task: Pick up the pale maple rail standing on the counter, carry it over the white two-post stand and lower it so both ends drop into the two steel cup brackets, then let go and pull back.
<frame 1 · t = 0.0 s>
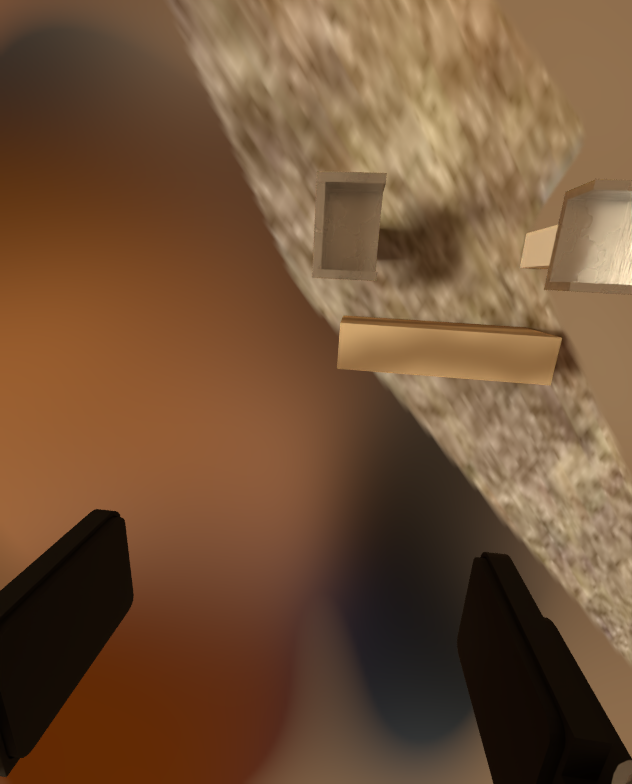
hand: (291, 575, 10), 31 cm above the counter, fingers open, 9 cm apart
bracket stand: (443, 247, 35), on the counter
rail: (429, 341, 38), on the counter
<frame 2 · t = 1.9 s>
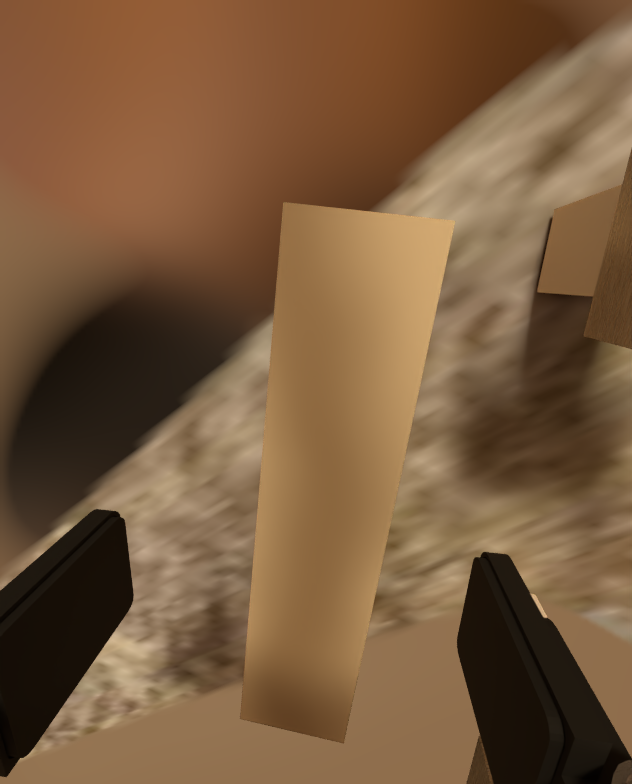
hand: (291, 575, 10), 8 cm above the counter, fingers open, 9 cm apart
bracket stand: (535, 461, 17), on the counter
rail: (337, 439, 18), on the counter
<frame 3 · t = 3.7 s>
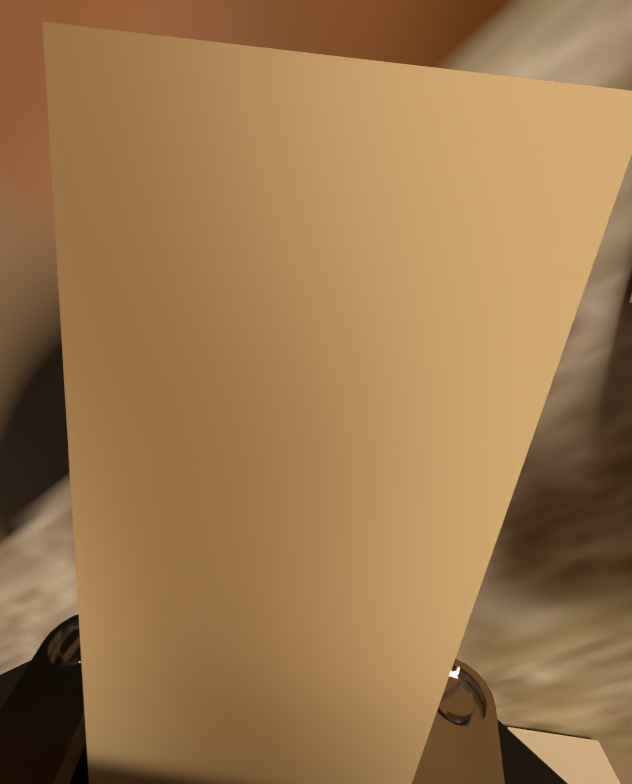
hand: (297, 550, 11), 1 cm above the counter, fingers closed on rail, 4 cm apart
bracket stand: (610, 561, 11), on the counter
rail: (301, 528, 12), on the counter, touching gripper
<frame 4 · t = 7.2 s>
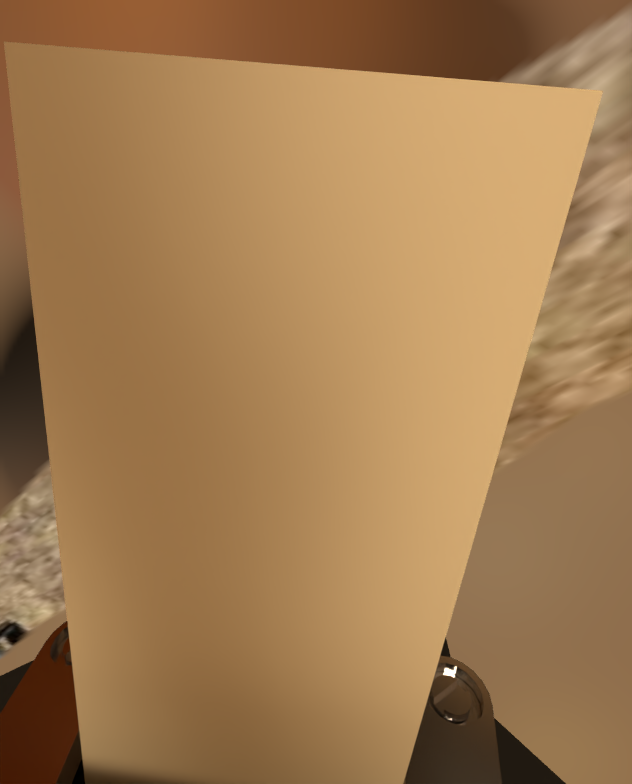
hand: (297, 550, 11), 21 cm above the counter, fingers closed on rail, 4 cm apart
rail: (300, 530, 12), point 20 cm above the counter, touching gripper
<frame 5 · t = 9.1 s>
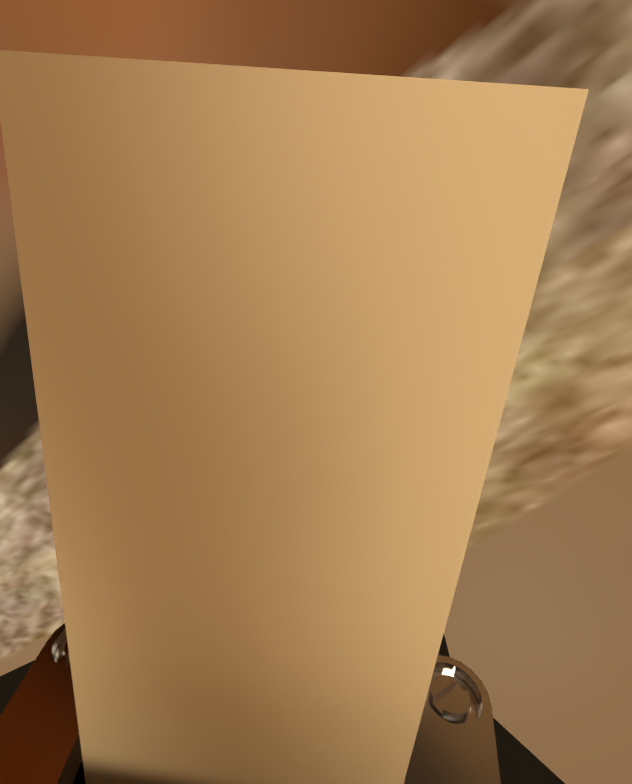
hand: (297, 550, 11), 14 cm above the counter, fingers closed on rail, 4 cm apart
rail: (301, 531, 12), point 13 cm above the counter, touching gripper
when the fingers open (10 cm above the counter, at t = 10.7 s): rail drops 1 cm, resting on bracket stand.
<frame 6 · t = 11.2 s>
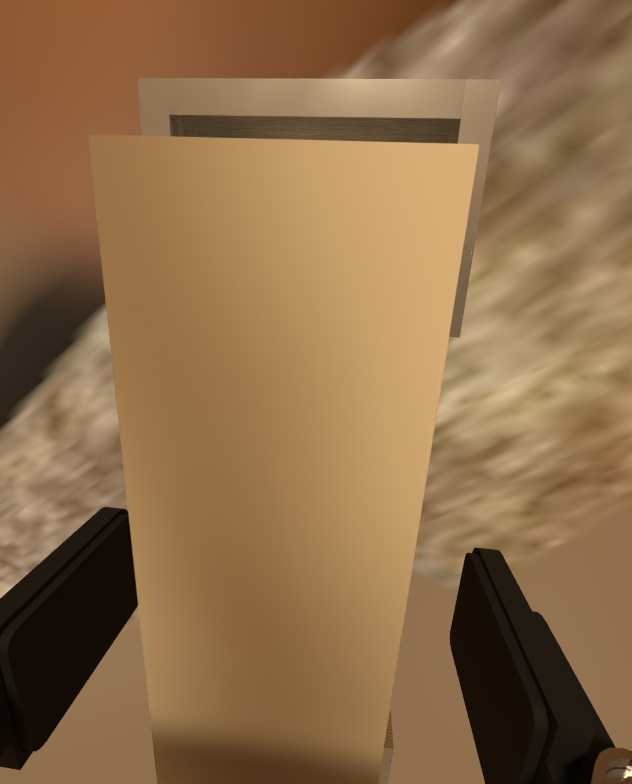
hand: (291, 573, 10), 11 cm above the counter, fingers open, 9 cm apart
bracket stand: (325, 421, 21), on the counter
rail: (311, 507, 13), point 8 cm above the counter, touching bracket stand
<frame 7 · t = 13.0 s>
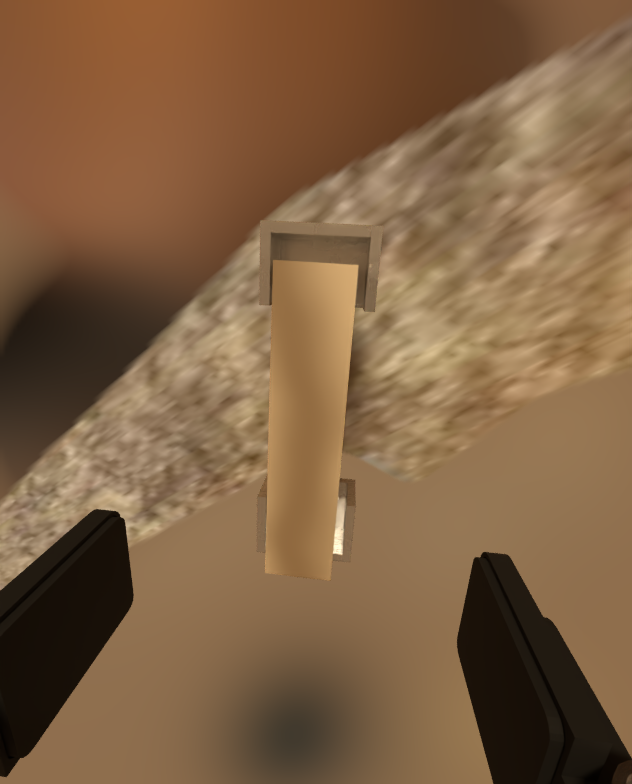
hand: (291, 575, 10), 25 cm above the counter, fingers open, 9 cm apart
bracket stand: (323, 372, 34), on the counter
rail: (317, 400, 27), point 8 cm above the counter, touching bracket stand
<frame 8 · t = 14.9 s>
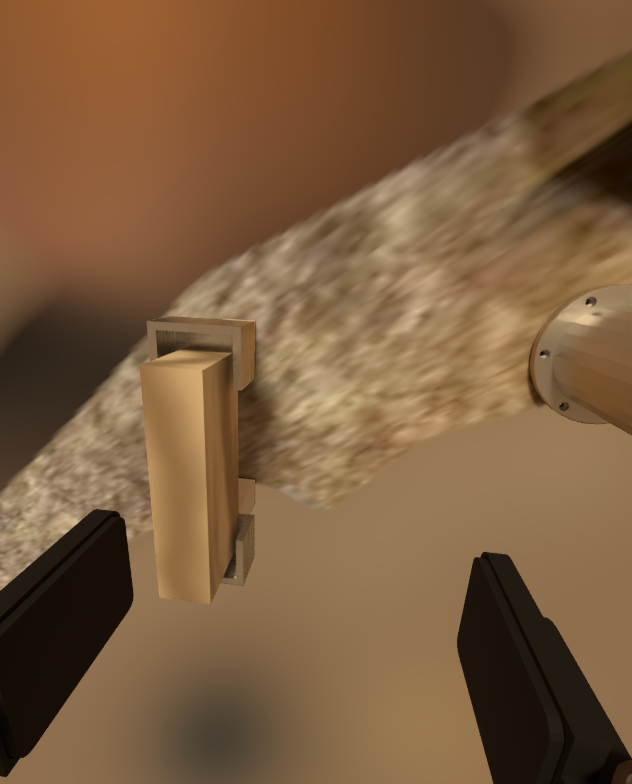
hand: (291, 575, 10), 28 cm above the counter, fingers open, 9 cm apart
bracket stand: (241, 417, 40), on the counter
rail: (215, 451, 32), point 8 cm above the counter, touching bracket stand
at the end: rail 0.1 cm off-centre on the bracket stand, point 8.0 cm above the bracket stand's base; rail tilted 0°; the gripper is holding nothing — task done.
